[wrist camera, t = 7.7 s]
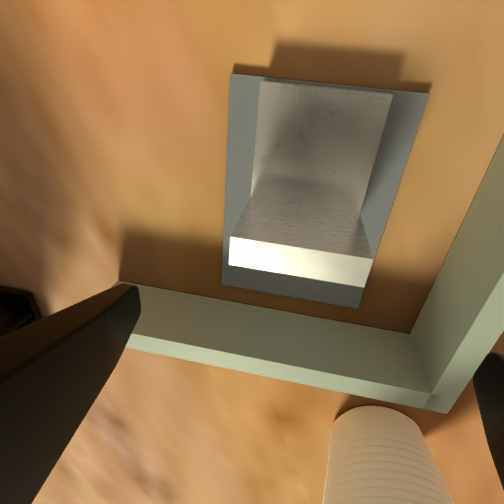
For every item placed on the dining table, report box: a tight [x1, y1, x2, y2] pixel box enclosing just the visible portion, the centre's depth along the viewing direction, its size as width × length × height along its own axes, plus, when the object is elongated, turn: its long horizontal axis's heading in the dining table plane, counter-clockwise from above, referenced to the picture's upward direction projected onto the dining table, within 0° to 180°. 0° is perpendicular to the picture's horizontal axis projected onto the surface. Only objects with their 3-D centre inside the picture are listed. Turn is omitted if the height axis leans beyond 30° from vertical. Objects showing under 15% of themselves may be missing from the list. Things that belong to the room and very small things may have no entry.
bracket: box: [229, 81, 393, 287], centre depth 12 cm, size 6×5×5 cm
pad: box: [221, 73, 429, 309], centre depth 16 cm, size 8×11×1 cm
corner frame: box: [111, 136, 504, 414], centre depth 14 cm, size 20×16×4 cm
